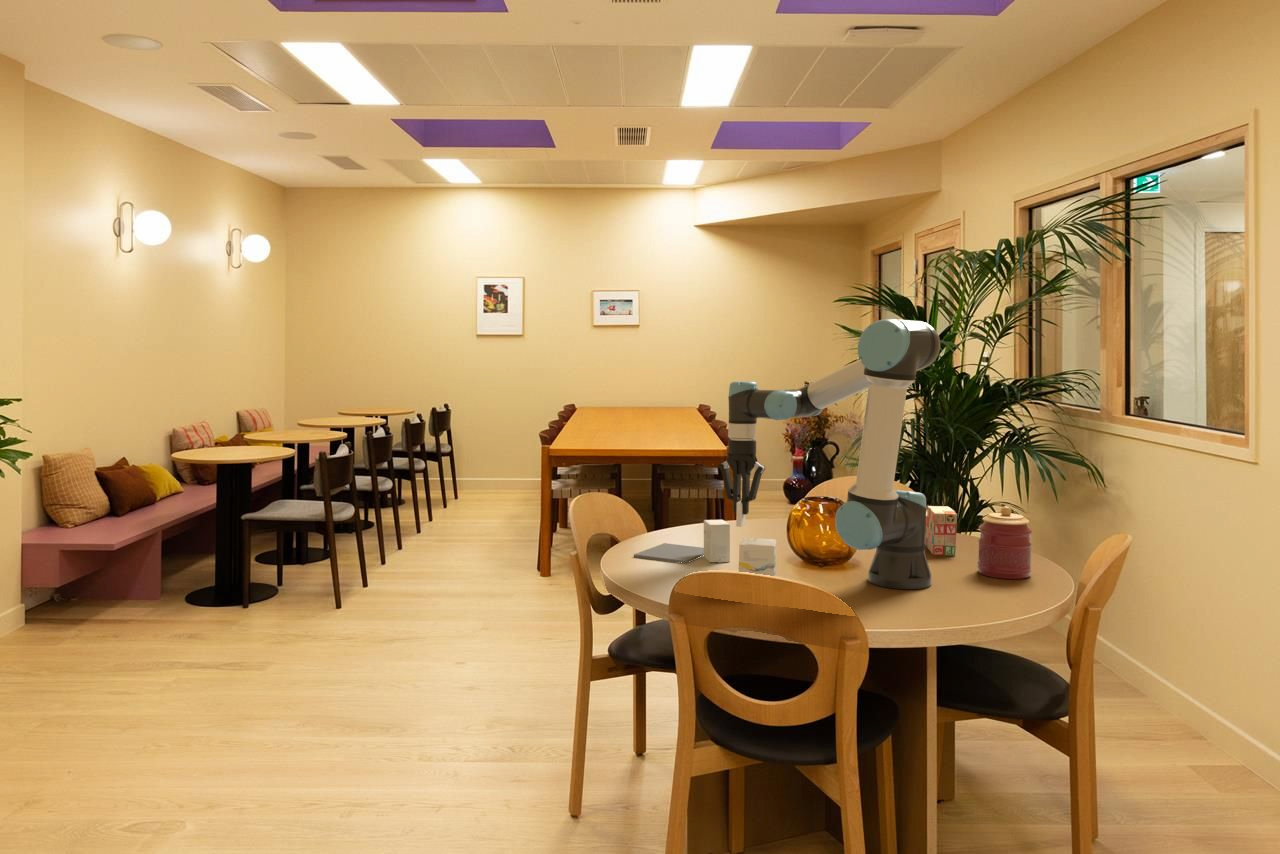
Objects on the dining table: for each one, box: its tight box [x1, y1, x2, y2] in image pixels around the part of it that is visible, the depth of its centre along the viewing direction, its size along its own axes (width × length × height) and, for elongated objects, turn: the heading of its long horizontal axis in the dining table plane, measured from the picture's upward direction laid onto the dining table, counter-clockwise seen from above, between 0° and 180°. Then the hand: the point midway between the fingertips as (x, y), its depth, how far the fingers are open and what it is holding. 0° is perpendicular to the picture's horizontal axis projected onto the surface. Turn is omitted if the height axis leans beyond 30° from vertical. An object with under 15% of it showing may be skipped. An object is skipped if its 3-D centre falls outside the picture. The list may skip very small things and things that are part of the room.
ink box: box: [738, 537, 777, 576], centre depth 225 cm, size 8×8×12 cm
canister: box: [976, 505, 1034, 580], centre depth 241 cm, size 13×13×18 cm
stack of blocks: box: [925, 505, 958, 557], centre depth 274 cm, size 21×6×12 cm, turn 172°
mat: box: [633, 542, 704, 564], centre depth 263 cm, size 16×18×1 cm
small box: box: [703, 519, 731, 563], centre depth 256 cm, size 8×6×10 cm
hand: (740, 525), depth 253 cm, fingers closed
